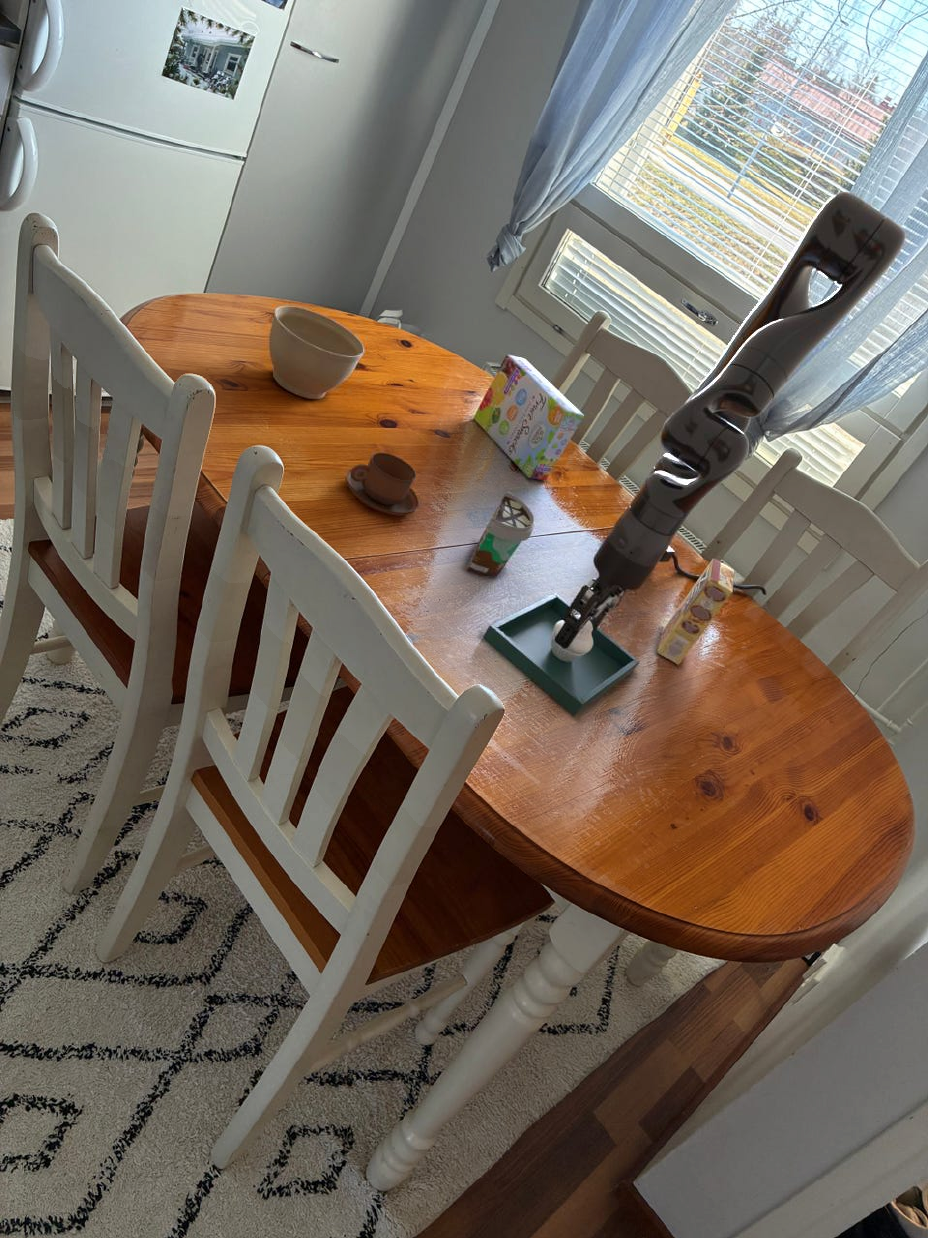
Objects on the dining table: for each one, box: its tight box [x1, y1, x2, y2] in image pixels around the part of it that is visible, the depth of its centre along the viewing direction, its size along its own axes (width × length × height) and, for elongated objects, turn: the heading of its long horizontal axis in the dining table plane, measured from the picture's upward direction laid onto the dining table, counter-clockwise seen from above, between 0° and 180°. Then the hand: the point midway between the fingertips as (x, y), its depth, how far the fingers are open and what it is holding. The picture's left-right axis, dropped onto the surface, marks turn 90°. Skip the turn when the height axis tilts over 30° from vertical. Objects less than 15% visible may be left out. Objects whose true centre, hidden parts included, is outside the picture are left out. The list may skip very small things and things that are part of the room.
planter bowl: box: [268, 305, 365, 400], centre depth 163 cm, size 16×16×11 cm
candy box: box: [657, 558, 735, 666], centre depth 148 cm, size 9×4×15 cm, turn 162°
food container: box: [466, 490, 535, 578], centre depth 144 cm, size 12×6×10 cm, turn 168°
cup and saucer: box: [346, 452, 420, 517], centre depth 145 cm, size 12×12×6 cm
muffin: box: [551, 615, 593, 662], centre depth 133 cm, size 6×6×7 cm
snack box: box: [473, 354, 585, 481], centre depth 183 cm, size 21×6×15 cm, turn 34°
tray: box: [482, 592, 641, 717], centre depth 134 cm, size 20×17×2 cm
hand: (573, 636), depth 133 cm, fingers open, 8 cm apart
